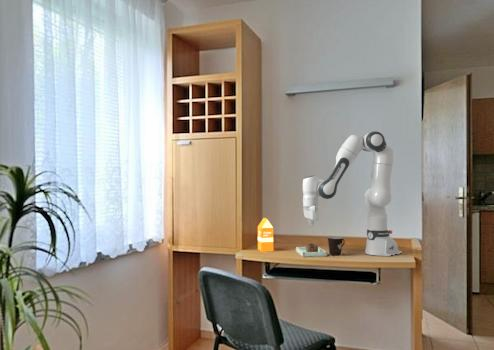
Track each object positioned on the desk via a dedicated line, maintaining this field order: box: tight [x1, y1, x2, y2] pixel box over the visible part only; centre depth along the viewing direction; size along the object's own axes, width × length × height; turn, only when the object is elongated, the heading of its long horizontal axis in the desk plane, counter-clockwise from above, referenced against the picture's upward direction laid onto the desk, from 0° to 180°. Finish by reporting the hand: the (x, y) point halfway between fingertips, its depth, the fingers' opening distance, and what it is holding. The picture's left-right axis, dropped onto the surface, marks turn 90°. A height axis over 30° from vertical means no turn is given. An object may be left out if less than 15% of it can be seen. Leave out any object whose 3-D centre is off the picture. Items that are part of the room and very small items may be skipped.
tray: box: [295, 246, 328, 258], centre depth 251 cm, size 14×19×2 cm
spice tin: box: [305, 243, 319, 252], centre depth 249 cm, size 5×5×8 cm
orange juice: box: [257, 217, 274, 253], centre depth 262 cm, size 8×9×20 cm
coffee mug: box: [327, 236, 346, 257], centre depth 247 cm, size 12×9×10 cm
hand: (311, 226), depth 252 cm, fingers closed
